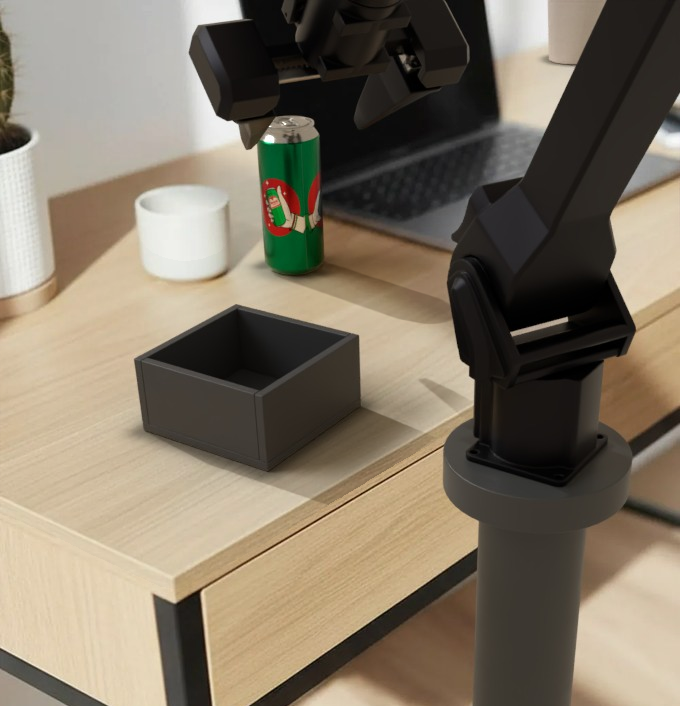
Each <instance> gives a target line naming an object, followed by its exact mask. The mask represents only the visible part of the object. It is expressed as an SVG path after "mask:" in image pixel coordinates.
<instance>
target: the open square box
mask: <svg viewBox="0 0 680 706" xmlns="http://www.w3.org/2000/svg"><path fill="white" fill-rule="evenodd" d="M360 347H361V346H360V335H359V334H357V333H353V332H350V331H346V330H341V329H336V328H334V327H330V326H325V325H321V324H317V323H314V322H309V321H305V320H301V319H297V318H293V317H289V316H285V315H281V314H278V313H273V312H269V311H265V310H262V309H257V308H254V307H250V306H245V305H242V304H239V303H238V304H237V303H234V304H233V305H231V306H230V307H227V308H226V309H224V310H222V311H220V312H218V313H216V314H215V315H213V316H211V317H209V318H207V319H205V320H203V321H201V322H199V323H197V324H196V325H193V326H192V327H190V328H188V329H187V330H184V331H183V332H181V333H179V334H176V336H173V337H172V338H170V339H168V340H166V341H164V342H162V343H161V344H159V345H157V346H154V347H152V348H151V349H149V350H148V351H146V352H144V353H141V354H140V355H137V356H136V357H134V358H133V362H134V363H133V364H134V370H135V377H136V385H137V392H138V399H139V407H140V413H141V422H142V428H143V431H145V432H148V433H151V434H154V435H157V436H160V437H163V438H167V439H169V440H173V441H175V442H178V443H181V444H184V445H187V446H190V447H192V448H196V449H199V450H202V451H205V452H208V453H211V454H213V455H217V456H220V457H223V458H226V459H228V460H231V461H235V462H238V463H240V464H244V465H247V466H250V467H253V468H255V469H259V470H261V471H265V472H269V471H271V470H273V469H274V468H275V467H277V465H280V464H281V463H282V462H283V461H285V460H286V459H288V458H289V457H290V456H292V455H294V453H296V452H297V451H299V450H300V449H302V448H303V447H304V446H306V445H308V444H309V443H310V442H311V441H313V440H315V439H316V438H317V437H319V436H321V435H322V434H323V433H324V432H326V431H327V430H329V429H330V428H332V427H333V426H334V425H336V424H337V423H339V422H340V421H341V420H343V419H344V418H345V417H347V416H348V415H350V414H351V413H353V412H354V411H356V409H358V408H360V407H361V406H362V398H361V397H362V389H361V388H362V387H361V385H362V384H361V352H360V351H361V350H360Z"/></svg>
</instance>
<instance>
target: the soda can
mask: <svg viewBox="0 0 680 706" xmlns="http://www.w3.org/2000/svg"><path fill="white" fill-rule="evenodd" d="M320 139H321V137H320V133H319V132H318V130H317V129H316V127H315V120H314V119H313V118H310V117H306V116H303V115H282V116H281V115H280V116H276V117H275V119H274V120H273V122H272V123H271V125H270V126H269V127H268V129H267V130H266V132H265V133H264V134H263V136H262V137H261V139H260V140H259V142H258V143H257V144H256V153H257V169H258V182H259V183H258V184H259V196H260V209H261V210H260V211H261V225H262V238H263V239H262V240H263V252H264V253H263V254H264V263H265V265H266V266H267V267H268V268H269V269H270V270H271V271H272V272H273V273H277V274H280V275H287V276H300V275H306V274H309V273H312V272H315V271H317V270H318V269H319V268H320V267H321V266H322V264H323V263H324V262H325V236H324V235H325V234H324V212H323V209H324V208H323V207H324V206H323V189H322V188H323V186H322V161H321V140H320Z"/></svg>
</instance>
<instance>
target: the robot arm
mask: <svg viewBox="0 0 680 706" xmlns="http://www.w3.org/2000/svg"><path fill="white" fill-rule="evenodd" d="M280 10H281V12H282V14H283V17H284V19H285V21H286V23H287V24H288V25H290V24H294V25H295V27H296V31H295V41H293V42H284V43H278V44H270V45H266V44H265V42H264V40H263V38H262V35H261V34H260V31H259V30H258V27H257V25H256V22H255V21H254V19H252V18H251V19H249V18H241V19H233V20H226V21H218V22H210V23H203V24H198V25H196V28H195V30H194V32H193V33H192V36H191V40H190V44H189V49H188V56H189V58H190V61H191V62H192V64H193V67H194V69H195V71H196V73H197V76H198V78H199V81H200V83H201V85H202V87H203V89H204V91H205V94H206V96H207V99H208V101H209V103H210V105H211V108H212V110H213V112H214V114H215V116H216V117H217V118H219V119H221V120H224V121H226V122H233V123H235V124H236V125H238V130H239V137H240V140H241V142H242V144H243V147H244V149H245V150H246V151H251V150H252V149H253V148H254V147H255V146H257V143H258V142H259V140H260V139H261V137H262V136H263V134H264V133H265V132H266V130H267V129H268V127H269V126H270V125H271V123H272V122H273V120H274V119H275V117H277V114H276V111H275V110H274V109H275V108H276V107H277V106H278V104H279V100H280V98H281V87H280V86H281V84H288V83H295V82H300V81H306V80H307V81H308V80H313V79H319V78H320V79H321V81H322V83H323V82H331V81H336V80H337V81H338V80H343V79H349V78H356V77H361V76H368V77H367V80H366V82H365V84H364V87H363V89H362V92H361V94H360V97H359V99H358V101H357V104H356V108H355V112H354V116H353V121H354V124H355V126H356V128H357V130H358V131H363V130H365V129H367V128H368V127H370V126H372V125H374V124H376V123H377V122H379V121H382V120H383V119H384V118H386V117H388V116H390V115H391V114H393V113H395V112H397V111H398V110H400V109H402V108H404V107H406V106H408V105H410V104H412V103H414V102H415V101H418V100H419V99H422V98H424V97H426V96H428V95H430V94H433V93H437V92H439V91H440V90H441V89H443V86H449V85H454V84H458V83H459V82H460V80H461V78H462V76H463V74H464V72H465V71H466V68H467V67H468V64H469V63H470V45H469V44H468V42H467V39H466V38H465V36H464V33H463V32H462V30H461V28H460V27H459V24H458V22H457V21H456V18H455V17H454V15H453V13H452V11H451V9H450V7H449V5H448V3H447V2H446V0H283V3H282V7H281V9H280ZM679 96H680V0H606V2H605V4H604V6H603V8H602V11H601V13H600V15H599V17H598V19H597V21H596V23H595V26H594V28H593V30H592V32H591V34H590V36H589V38H588V41H587V43H586V45H585V47H584V49H583V51H582V53H581V56H580V58H579V60H578V62H577V64H575V67H574V68H573V71H572V72H571V75H570V77H569V79H568V81H567V84H566V85H565V88H564V89H563V92H562V94H561V96H560V98H559V101H558V103H557V105H556V107H555V110H554V112H553V114H552V116H551V117H550V120H549V121H548V123H547V127H546V128H545V130H544V132H543V135H542V137H541V139H540V141H539V144H538V145H537V148H536V150H535V152H534V154H533V156H532V158H531V160H530V163H529V165H528V167H527V169H526V171H525V173H524V175H523V176H519V177H514V178H510V179H505V180H499V181H494V182H489V183H485V184H480V185H478V186H477V187H476V188H475V190H474V191H473V193H472V194H471V195H470V197H469V198H468V201H467V205H466V209H465V212H464V216H463V219H462V222H461V224H460V225H459V226H458V228H457V229H456V230H455V231H454V232H453V233H451V235H450V239H451V241H452V242H454V243H456V246H455V247H454V248H453V251H452V254H451V257H450V262H449V268H448V272H447V277H446V279H447V280H446V288H447V295H448V301H449V307H450V312H451V318H452V319H451V320H452V324H453V329H454V336H455V343H456V347H457V349H458V350H457V351H458V355H459V356H458V357H459V360H460V361H461V362H462V363H463V364H465V365H466V366H468V377H469V378H471V379H472V380H473V382H474V383H473V413H472V418H473V435H474V437H475V438H478V439H479V440H478V441H477V442H475V443H474V444H473V445H472V446H471V447H470V448H468V449H467V450H466V459H467V460H468V461H470V462H473V463H477V464H480V465H483V466H487V467H490V468H494V469H497V470H500V471H504V472H507V473H510V474H514V475H517V476H520V477H524V478H527V479H531V480H534V481H537V482H541V483H544V484H547V485H551V486H554V487H564V486H566V485H567V484H568V483H569V482H570V481H571V480H572V479H573V478H574V477H575V476H576V475H577V474H578V473H579V472H580V471H581V470H582V469H583V468H584V467H585V466H586V465H587V464H588V463H589V462H590V461H591V460H592V459H593V458H594V457H595V456H596V455H597V454H598V453H599V452H600V451H601V450H602V449H603V448H604V447H605V446H606V445H607V443H608V436H607V435H606V434H603V433H599V432H598V423H599V421H600V413H601V412H600V411H601V401H602V400H601V399H602V389H603V378H604V367H605V360H607V359H611V358H614V357H616V358H620V357H624V356H626V355H627V354H628V352H629V350H630V347H631V344H632V342H633V339H634V337H635V335H636V334H637V333H636V332H637V326H636V323H635V321H634V318H633V317H632V315H631V312H630V310H629V308H628V305H627V304H626V301H625V299H624V297H623V295H622V293H621V289H620V287H619V286H618V284H617V282H616V279H615V277H614V275H613V273H612V270H611V269H612V266H613V264H614V261H615V259H616V255H617V250H618V249H617V246H616V245H617V244H616V240H615V236H614V230H613V225H612V221H611V216H612V214H613V212H614V209H615V208H616V206H617V204H618V202H619V201H620V199H621V197H622V195H623V194H624V192H625V191H626V188H627V187H628V185H629V184H630V182H631V180H632V178H633V176H634V174H636V173H635V172H636V171H637V169H638V167H639V166H640V164H641V162H642V160H643V159H644V157H645V155H646V153H647V152H648V150H649V148H650V146H651V145H652V143H653V141H654V139H655V138H656V136H657V134H658V132H659V130H660V129H661V127H662V126H663V123H664V121H665V120H666V118H667V117H668V115H669V113H670V111H672V108H673V106H674V104H675V102H676V101H677V99H678V98H679ZM565 318H567V321H564V322H561V323H557V324H553V325H550V326H546V327H542V328H539V329H535V330H531V331H526V332H523V333H520V334H515V335H512V333H513V332H517V331H520V330H525V329H528V328H531V327H535V326H539V325H543V324H546V323H550V322H554V321H558V320H561V319H565Z"/></svg>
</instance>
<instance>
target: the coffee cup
mask: <svg viewBox="0 0 680 706" xmlns="http://www.w3.org/2000/svg"><path fill="white" fill-rule="evenodd" d="M605 2H606V0H547V24H548V25H547V29H548V30H547V32H548V34H547V36H548V38H547V39H548V60H549V61H550V62H552V63H555V64H562V65H576V64H577V62H578V60H579V58H580V56H581V53H582V51H583V49H584V47H585V45H586V43H587V41H588V38H589V36H590V34H591V32H592V30H593V28H594V26H595V23H596V21H597V19H598V17H599V15H600V13H601V11H602V8H603V6H604V4H605Z"/></svg>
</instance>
